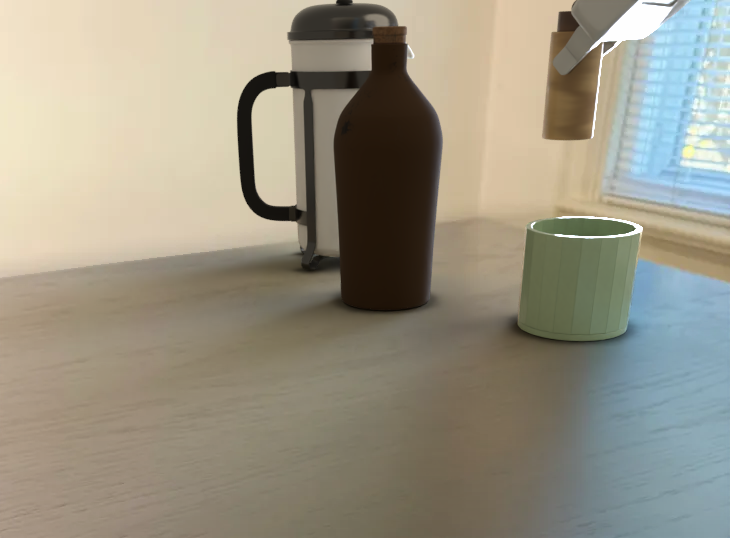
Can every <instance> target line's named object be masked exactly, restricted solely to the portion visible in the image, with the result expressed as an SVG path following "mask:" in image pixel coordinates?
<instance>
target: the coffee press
mask: <svg viewBox="0 0 730 538" xmlns="http://www.w3.org/2000/svg"><path fill="white" fill-rule="evenodd" d="M384 26H399V22H398V18H397V16H396V15H395V13H394V12H393V11H392V10H391V9H389V8H388V7H386V6H384V5H381V4H377V3H376V4H375V3H367V2H366V3H365V2H354V1H353V0H335V3H323V4H314V5H310V6H307V7H305V8H303V9H301V10H300V11H299V12H297V13H296V14H295V15H294V17H293V19H292V22H291V25H290V31H287V32H286V40H287V41H288V44H289V45H290V52H291V53H290V54H291V70H289V72H288V71H276V70H271V71H266V72H263V73H259V74H257V75H255V76H253V78H251V79H250V80H249V81H248V82H247V83H246V85H244V88H243V90H242V91H241V93H240V96H239V100H238V102H237V108H236V109H237V110H236V133H237V151H238V152H237V153H238V168H239V178H240V179H239V180H240V188H241V192H242V196H243V198H244V199H243V200H244V201H245V203H246V205H247V206H248V208H249V209H250V210H251V211H252V212H253V214H255V215H256V216H258V217H260V218H261V219H265V220H267V221H274V222H292V223H293V222H294V223H296V225H297V227H296V228H297V240H298V241H297V242H298V244H299V249H300V252H301V254H303V255H302V258H301V261H300V266H301V269H303V270H306V271H312V272H315V271H316V270H317V269H318V267H319V266H320V263H321V262H322V260H324V259H327V258H330V257H331V258H332V257H333V258H340V252H339V232H338V214H337V196H336V180H335V164H334V147H333V143H334V134H335V130H336V126H337V122H338V119H339V116H340V114H341V112H342V111H343V109H344V108H345V106H346V105H347V104H348V103H349V101H350V100H351V99H352V98H353V96H354V95H355V94H356V93H357V91H358V90H359V89H360V87H361V86H362V85H363V84H364V82H365V81H366V80H367V78H368V77H369V75H370V73H371V70H372V64H371V44H373V27H384ZM414 58H415V53H414V52H413V50H412V49H411V46H410V45H409V44H408V50H407V60H409V59H411V60H413V59H414ZM288 87H290V88H291V89H292V110H293V115H292V116H293V140H294V141H293V142H294V143H293V144H294V169H295V170H294V171H295V197H296V199H295V200H296V201H295V202H296V204H295V205H272V204H268V203H266V202H265V201H264V200H263V199H262V198H261V196H260V194H259V193H258V189H257V185H256V173H255V158H254V157H255V156H254V138H253V119H252V118H253V107H254V105H255V102H256V100H257V98H258V97H259V95H260V94H261V93H263V92H265V91H267V90H272V89H276V88H288ZM314 255H315V256H314ZM313 256H314V257H313Z"/></svg>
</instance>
